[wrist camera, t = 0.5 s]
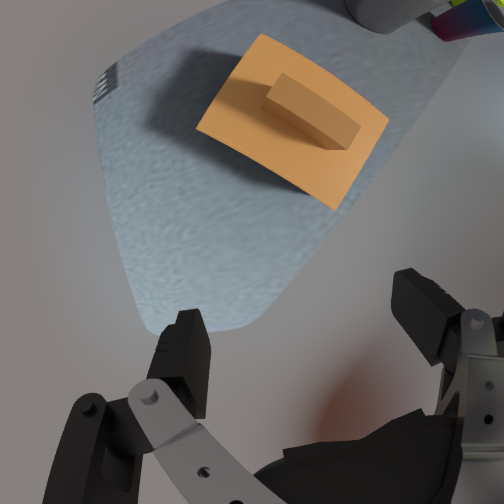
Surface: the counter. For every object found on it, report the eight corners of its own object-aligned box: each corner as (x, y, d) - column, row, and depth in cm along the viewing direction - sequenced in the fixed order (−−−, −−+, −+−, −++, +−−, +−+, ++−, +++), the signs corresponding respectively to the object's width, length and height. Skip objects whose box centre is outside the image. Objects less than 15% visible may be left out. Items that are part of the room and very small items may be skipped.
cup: (428, 34, 26) (485, 13, 12) (425, 8, 23) (476, -16, 9) (455, 52, 26) (511, 39, 12) (452, 26, 24) (503, 10, 10)
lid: (259, 40, 22) (267, 11, 16) (379, 121, 26) (415, 116, 19) (198, 130, 26) (187, 123, 19) (328, 206, 30) (354, 223, 23)
